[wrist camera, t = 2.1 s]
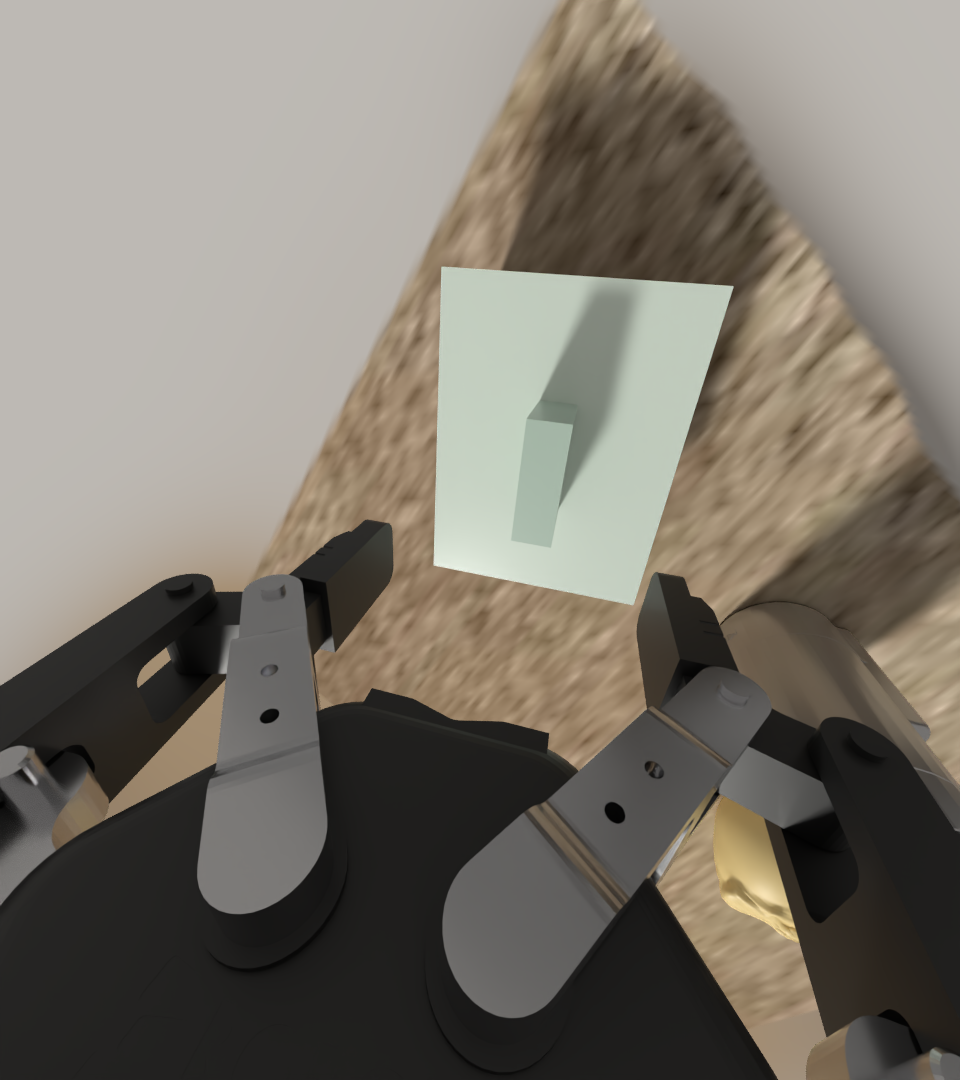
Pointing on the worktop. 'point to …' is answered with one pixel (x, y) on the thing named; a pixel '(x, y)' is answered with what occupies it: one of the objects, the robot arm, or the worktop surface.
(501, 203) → the worktop surface
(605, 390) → the lid
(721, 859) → the sculpture
